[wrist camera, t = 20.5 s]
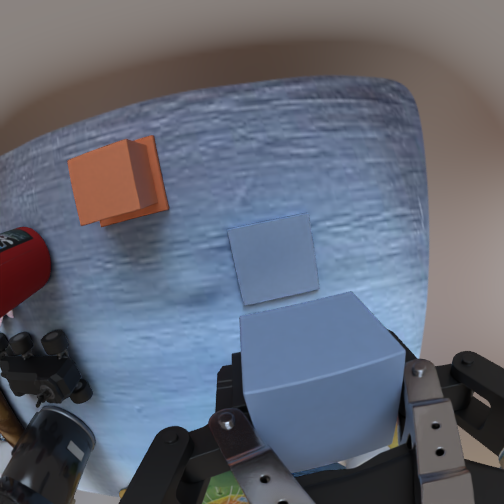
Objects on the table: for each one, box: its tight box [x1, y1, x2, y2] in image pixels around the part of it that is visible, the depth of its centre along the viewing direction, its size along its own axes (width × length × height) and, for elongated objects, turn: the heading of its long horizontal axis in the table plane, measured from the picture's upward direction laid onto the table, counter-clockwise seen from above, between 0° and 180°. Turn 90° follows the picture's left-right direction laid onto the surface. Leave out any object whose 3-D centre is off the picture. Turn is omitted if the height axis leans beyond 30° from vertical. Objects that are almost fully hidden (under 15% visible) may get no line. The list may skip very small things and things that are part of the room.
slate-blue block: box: [239, 291, 406, 473], centre depth 11 cm, size 5×5×5 cm
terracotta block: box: [67, 139, 158, 226], centre depth 21 cm, size 5×5×5 cm
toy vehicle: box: [0, 330, 93, 408], centre depth 24 cm, size 8×15×9 cm, turn 100°
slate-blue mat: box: [227, 213, 320, 306], centre depth 26 cm, size 7×7×1 cm
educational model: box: [202, 471, 249, 504], centre depth 32 cm, size 13×16×5 cm
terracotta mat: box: [100, 135, 169, 227], centre depth 24 cm, size 6×6×1 cm
